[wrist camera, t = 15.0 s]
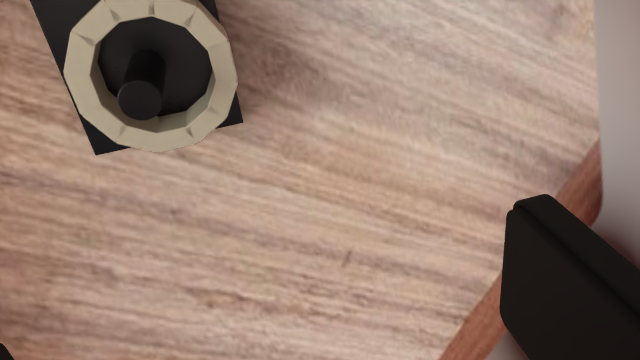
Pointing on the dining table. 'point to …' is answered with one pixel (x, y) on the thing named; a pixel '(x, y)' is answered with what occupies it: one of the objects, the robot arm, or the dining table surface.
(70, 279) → the dining table surface
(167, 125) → the tape roll
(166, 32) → the peg stand
